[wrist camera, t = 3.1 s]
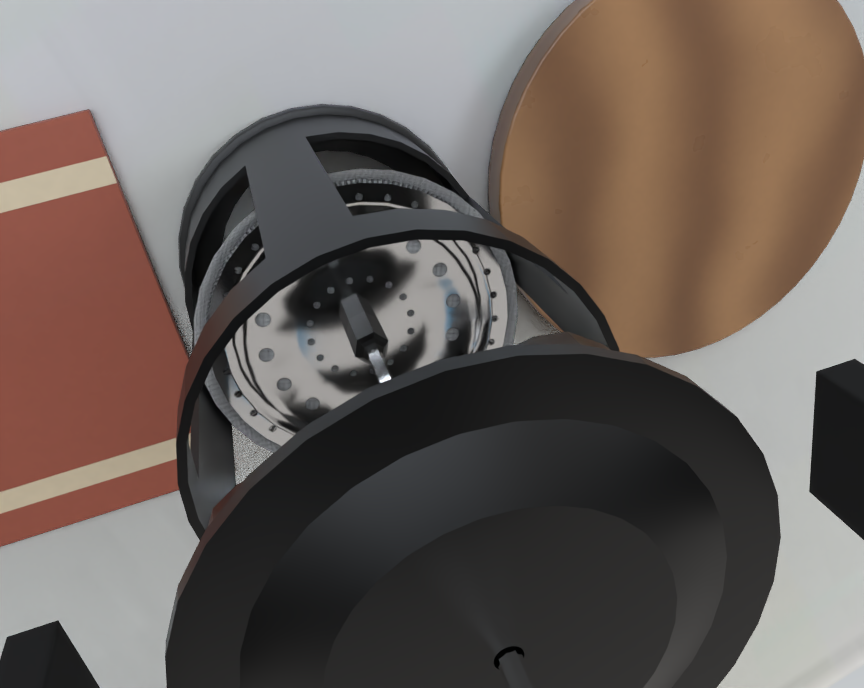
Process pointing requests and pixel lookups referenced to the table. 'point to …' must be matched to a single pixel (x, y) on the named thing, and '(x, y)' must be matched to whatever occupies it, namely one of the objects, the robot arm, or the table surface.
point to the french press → (436, 447)
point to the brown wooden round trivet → (682, 157)
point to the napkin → (78, 337)
